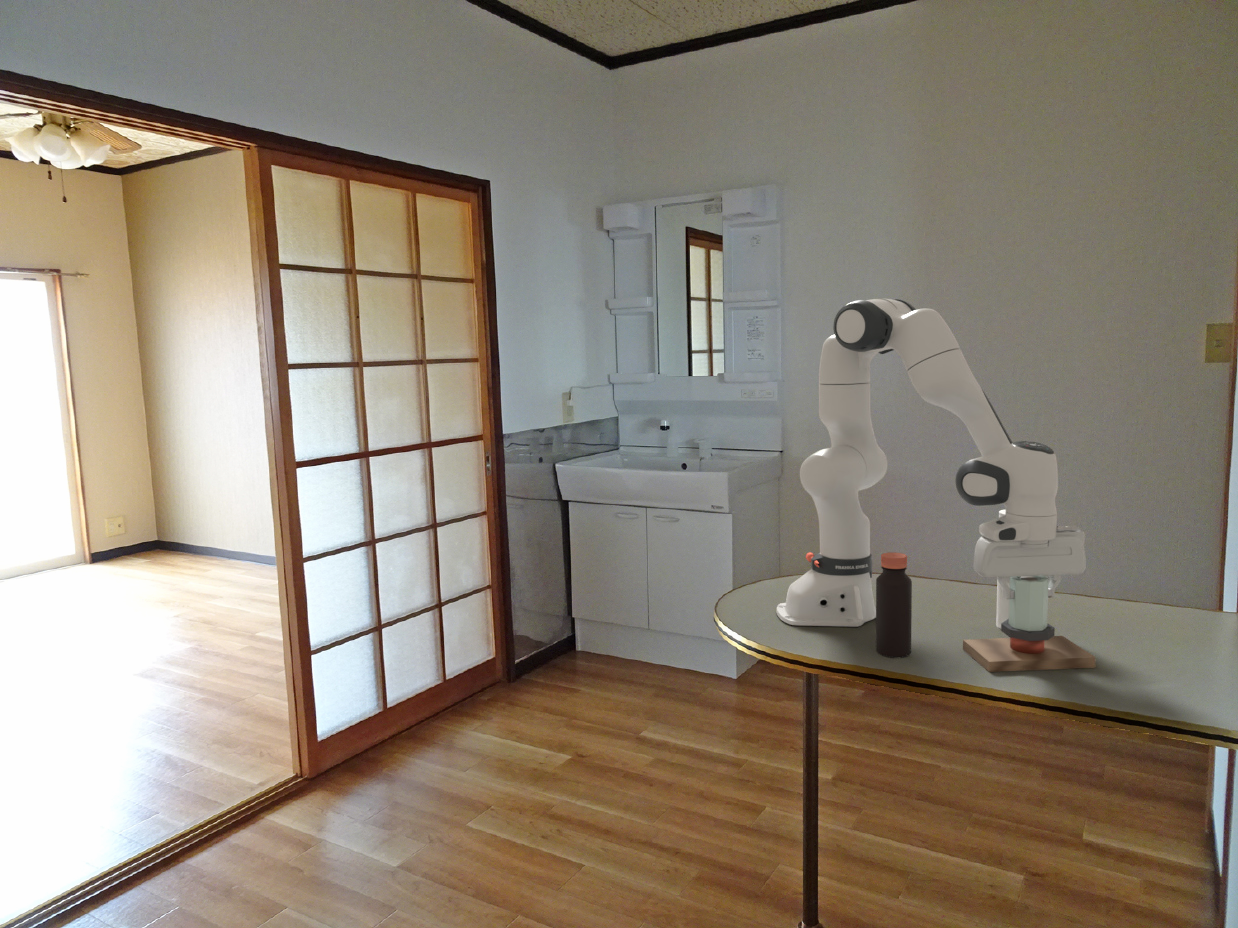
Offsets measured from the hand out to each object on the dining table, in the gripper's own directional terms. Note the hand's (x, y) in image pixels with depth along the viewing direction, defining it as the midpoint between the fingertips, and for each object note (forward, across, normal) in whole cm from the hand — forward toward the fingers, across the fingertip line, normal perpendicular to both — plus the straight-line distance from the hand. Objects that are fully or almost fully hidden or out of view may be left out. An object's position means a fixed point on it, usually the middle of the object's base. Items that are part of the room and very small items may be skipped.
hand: (1028, 597), depth 166 cm
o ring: (+7, 0, 0) cm, 7 cm away
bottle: (+12, +24, -6) cm, 28 cm away
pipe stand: (+12, 0, 0) cm, 12 cm away
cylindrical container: (+12, -6, -18) cm, 23 cm away
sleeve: (+6, 0, 0) cm, 6 cm away
